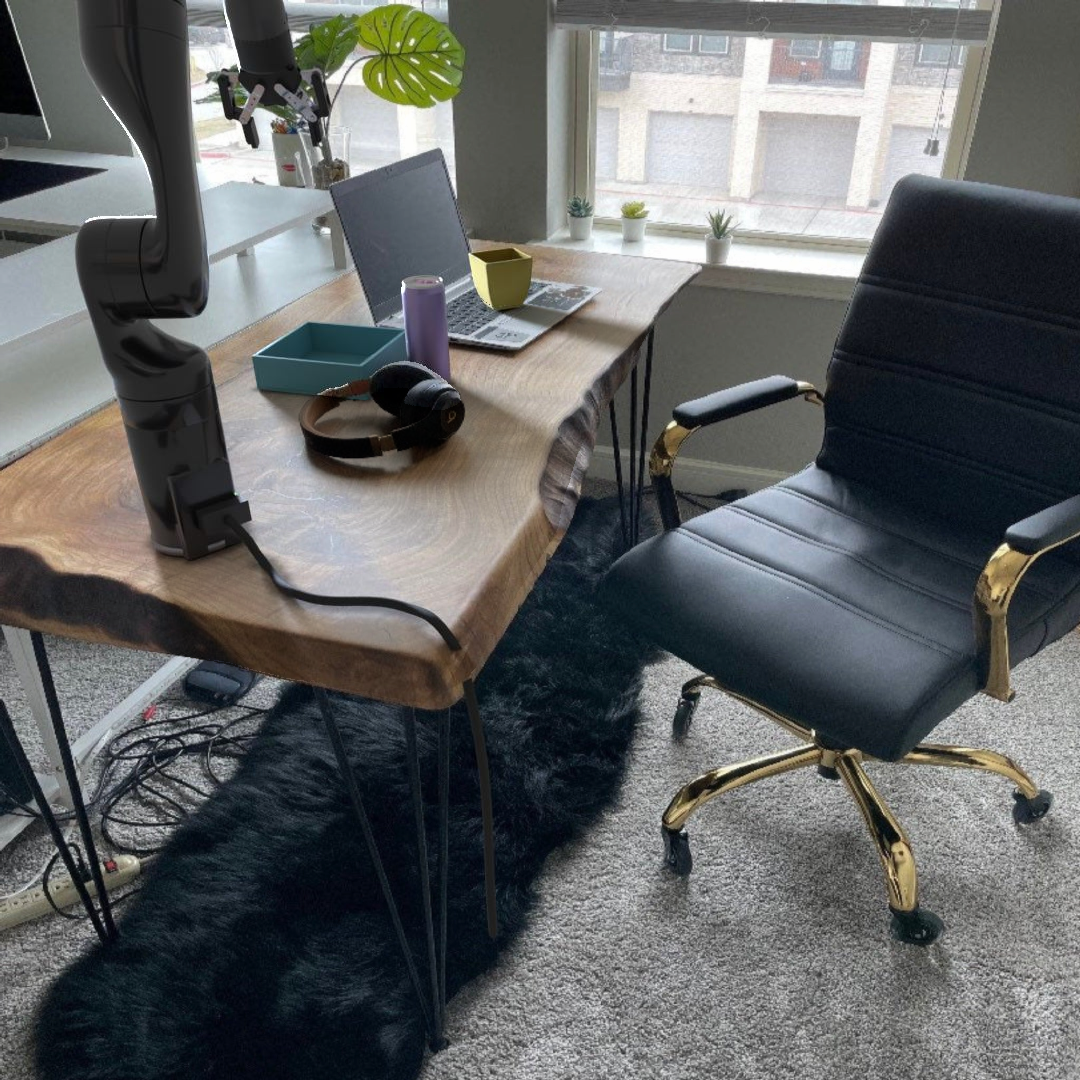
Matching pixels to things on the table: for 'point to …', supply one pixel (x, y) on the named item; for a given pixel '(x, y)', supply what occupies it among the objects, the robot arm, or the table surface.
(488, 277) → the flower pot
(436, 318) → the beverage can
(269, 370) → the box
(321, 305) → the table surface
